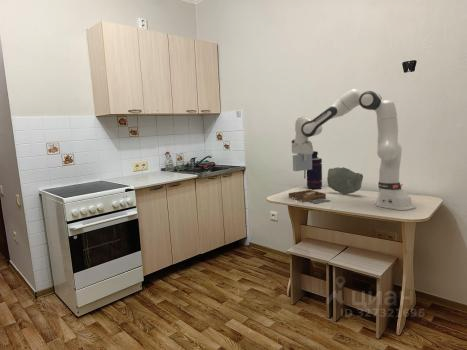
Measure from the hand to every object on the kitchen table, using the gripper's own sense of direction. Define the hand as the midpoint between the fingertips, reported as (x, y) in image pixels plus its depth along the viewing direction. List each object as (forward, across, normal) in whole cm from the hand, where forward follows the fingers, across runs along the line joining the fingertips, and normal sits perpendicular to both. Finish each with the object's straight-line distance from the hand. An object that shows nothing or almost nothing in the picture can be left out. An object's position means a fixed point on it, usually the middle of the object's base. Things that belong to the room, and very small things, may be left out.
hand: (302, 160), depth 231 cm
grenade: (+27, +22, -27) cm, 44 cm away
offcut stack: (+27, -7, 0) cm, 27 cm away
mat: (+27, -17, -1) cm, 32 cm away
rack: (+27, -4, 0) cm, 27 cm away
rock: (+27, -11, -29) cm, 41 cm away
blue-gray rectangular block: (+7, 0, 0) cm, 7 cm away
